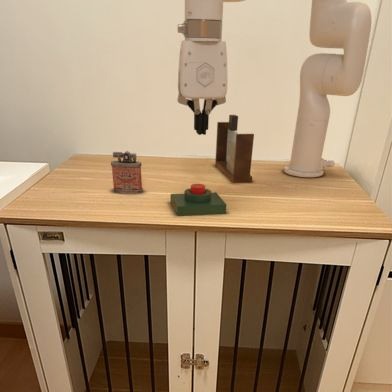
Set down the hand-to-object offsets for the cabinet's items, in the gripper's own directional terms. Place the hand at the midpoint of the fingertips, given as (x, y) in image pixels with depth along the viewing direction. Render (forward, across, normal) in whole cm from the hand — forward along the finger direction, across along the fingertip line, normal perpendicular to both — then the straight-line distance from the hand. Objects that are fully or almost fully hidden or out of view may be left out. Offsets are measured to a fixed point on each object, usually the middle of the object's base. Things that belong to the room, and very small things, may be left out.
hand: (200, 133), depth 93 cm
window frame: (+17, +18, +31) cm, 40 cm away
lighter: (+17, -17, +15) cm, 28 cm away
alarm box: (+16, -1, -1) cm, 17 cm away
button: (+13, -1, -1) cm, 13 cm away
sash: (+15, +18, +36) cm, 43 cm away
